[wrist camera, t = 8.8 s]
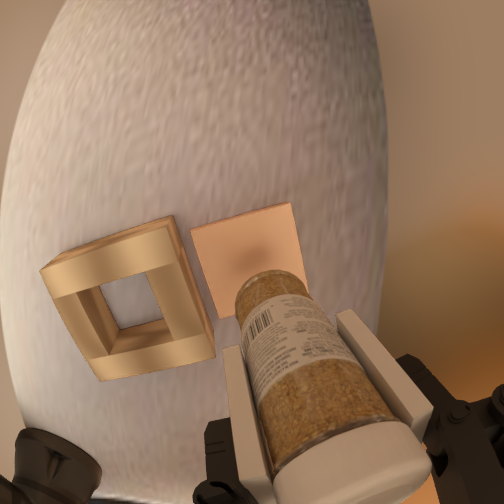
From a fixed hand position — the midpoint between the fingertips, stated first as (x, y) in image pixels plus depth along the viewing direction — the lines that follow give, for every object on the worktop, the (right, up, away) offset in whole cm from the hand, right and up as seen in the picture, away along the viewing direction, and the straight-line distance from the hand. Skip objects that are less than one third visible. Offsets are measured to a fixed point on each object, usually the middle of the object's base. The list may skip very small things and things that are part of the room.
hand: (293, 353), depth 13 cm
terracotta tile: (-2, +4, +12) cm, 13 cm away
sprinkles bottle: (-1, +2, +5) cm, 5 cm away
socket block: (-12, +1, +11) cm, 16 cm away
